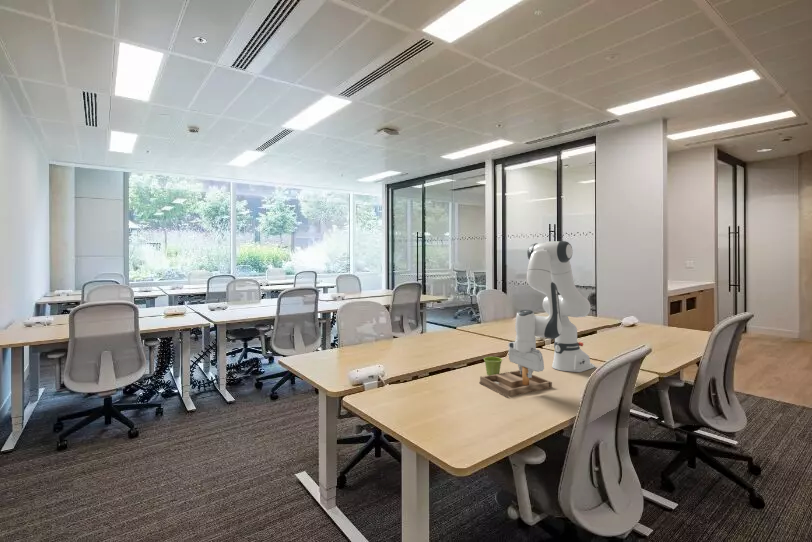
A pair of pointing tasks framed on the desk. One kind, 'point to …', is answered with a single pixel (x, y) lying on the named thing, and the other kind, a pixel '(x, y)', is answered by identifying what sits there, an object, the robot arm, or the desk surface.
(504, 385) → the channel
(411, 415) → the desk surface
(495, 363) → the plant pot
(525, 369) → the dowel
